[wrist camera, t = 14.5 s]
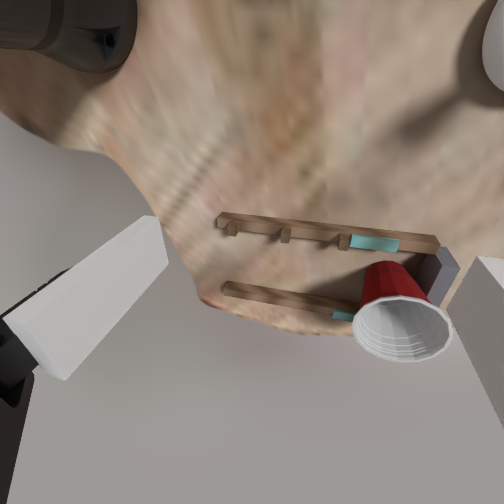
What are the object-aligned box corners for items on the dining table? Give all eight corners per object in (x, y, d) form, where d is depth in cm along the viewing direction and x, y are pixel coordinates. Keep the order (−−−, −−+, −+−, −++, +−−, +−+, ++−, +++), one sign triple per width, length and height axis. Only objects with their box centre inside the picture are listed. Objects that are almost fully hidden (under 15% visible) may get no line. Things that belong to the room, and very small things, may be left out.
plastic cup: (385, 231, 37) (402, 285, 28) (441, 272, 38) (478, 337, 29) (333, 276, 44) (333, 332, 34) (383, 309, 45) (397, 373, 35)
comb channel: (227, 287, 51) (220, 302, 48) (222, 211, 42) (212, 223, 39) (398, 317, 45) (403, 337, 41) (434, 235, 36) (446, 252, 32)
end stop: (401, 310, 44) (408, 333, 40) (430, 245, 37) (442, 266, 33) (414, 312, 43) (422, 336, 39) (446, 247, 36) (460, 268, 32)
